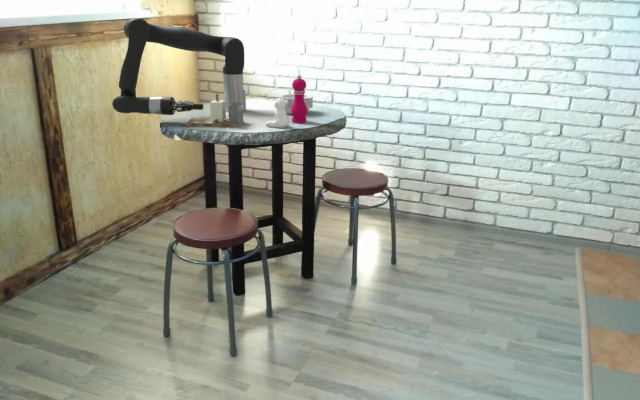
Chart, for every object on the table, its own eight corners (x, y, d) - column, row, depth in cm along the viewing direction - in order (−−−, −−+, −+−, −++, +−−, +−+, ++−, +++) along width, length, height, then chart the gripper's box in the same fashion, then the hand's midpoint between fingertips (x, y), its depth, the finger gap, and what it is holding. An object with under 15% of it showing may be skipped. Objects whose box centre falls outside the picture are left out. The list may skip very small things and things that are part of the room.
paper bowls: (308, 109, 263) (308, 92, 260) (315, 115, 249) (316, 98, 246) (277, 110, 259) (277, 93, 256) (283, 116, 245) (283, 99, 243)
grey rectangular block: (228, 123, 223) (228, 106, 221) (234, 118, 233) (233, 102, 230) (238, 124, 223) (237, 107, 221) (243, 119, 233) (242, 102, 230)
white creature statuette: (282, 123, 232) (282, 95, 228) (295, 126, 226) (295, 97, 222) (264, 126, 226) (264, 97, 222) (277, 130, 220) (277, 100, 216)
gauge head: (209, 122, 223) (207, 96, 219) (214, 118, 231) (212, 92, 227) (221, 123, 223) (219, 96, 219) (225, 119, 231) (224, 93, 227)
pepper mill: (289, 123, 232) (289, 75, 225) (292, 119, 239) (292, 73, 232) (306, 123, 231) (306, 76, 224) (308, 120, 238) (309, 74, 231)
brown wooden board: (185, 125, 224) (185, 122, 224) (193, 120, 235) (193, 117, 234) (238, 127, 223) (238, 123, 223) (243, 121, 233) (243, 118, 233)
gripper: (156, 99, 220) (198, 100, 219) (166, 94, 232) (206, 95, 232) (157, 117, 223) (199, 118, 222) (168, 111, 235) (207, 112, 234)
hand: (202, 106), depth 227 cm, fingers closed
